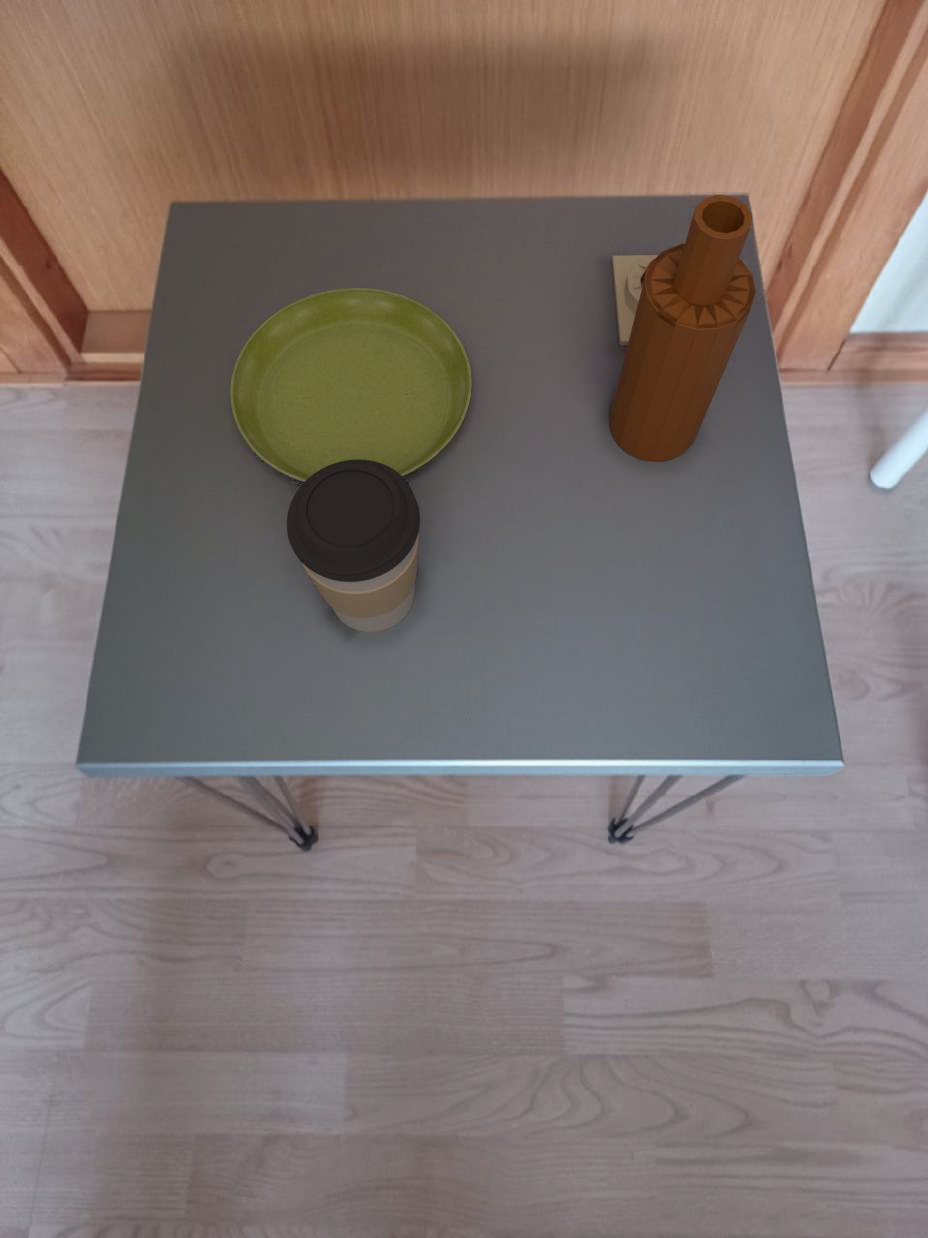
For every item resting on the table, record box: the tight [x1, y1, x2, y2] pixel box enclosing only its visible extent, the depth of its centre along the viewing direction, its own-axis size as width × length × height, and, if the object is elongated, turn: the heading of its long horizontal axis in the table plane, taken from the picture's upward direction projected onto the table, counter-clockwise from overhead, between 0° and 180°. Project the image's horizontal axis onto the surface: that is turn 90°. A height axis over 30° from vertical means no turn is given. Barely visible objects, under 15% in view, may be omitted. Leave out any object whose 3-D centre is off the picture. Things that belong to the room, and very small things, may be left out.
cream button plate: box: [611, 254, 659, 347], centre depth 80 cm, size 10×8×2 cm
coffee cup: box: [286, 459, 421, 633], centre depth 64 cm, size 9×9×15 cm
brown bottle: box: [609, 194, 757, 463], centre depth 66 cm, size 8×8×23 cm
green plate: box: [229, 287, 472, 483], centre depth 76 cm, size 21×21×3 cm
